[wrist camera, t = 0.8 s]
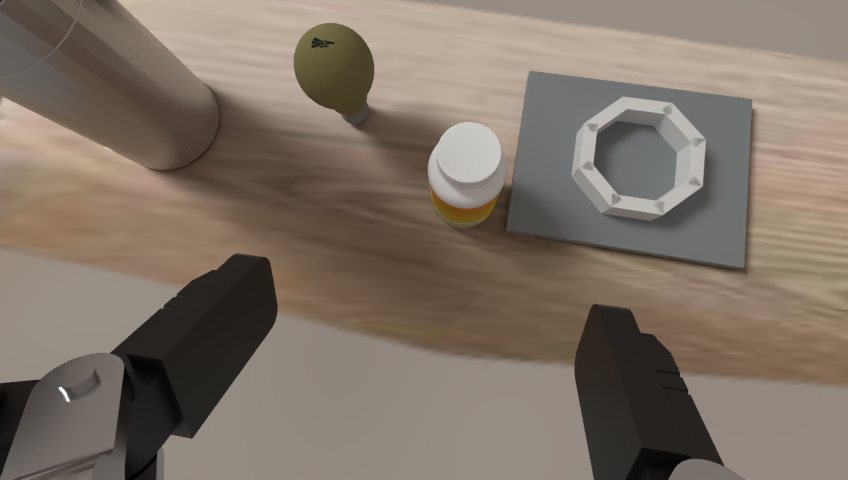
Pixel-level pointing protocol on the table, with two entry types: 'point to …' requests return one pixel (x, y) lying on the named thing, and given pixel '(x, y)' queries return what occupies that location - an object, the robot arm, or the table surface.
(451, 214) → the supplement bottle
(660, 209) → the collar plate
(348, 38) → the light bulb
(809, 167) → the table surface
